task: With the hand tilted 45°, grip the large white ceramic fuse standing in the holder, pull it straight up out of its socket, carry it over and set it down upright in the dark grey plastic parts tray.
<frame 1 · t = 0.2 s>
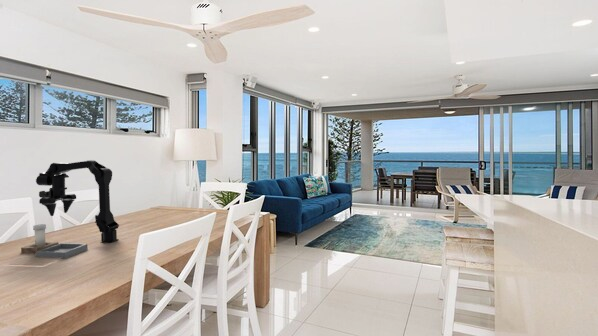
hand: (58, 214, 173), 14 cm above the table, fingers open, 9 cm apart
parts tray: (62, 253, 151), on the table
fuse: (40, 249, 155), point 1 cm above the table, touching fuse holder
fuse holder: (40, 251, 155), on the table
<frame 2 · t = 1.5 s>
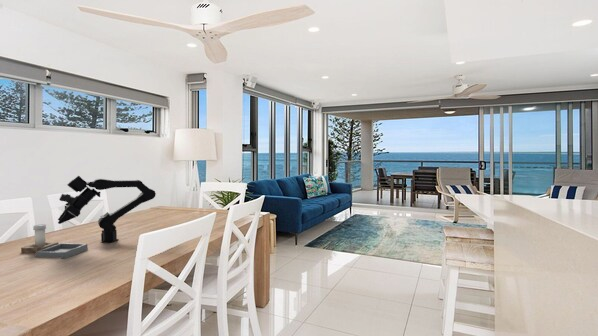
hand: (58, 221, 159), 13 cm above the table, fingers open, 9 cm apart
nothing on the table moved.
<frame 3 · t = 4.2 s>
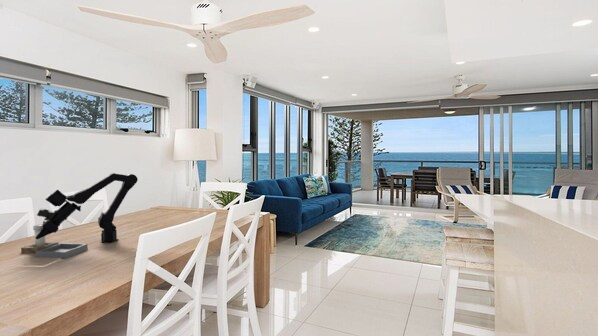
hand: (36, 237, 154), 7 cm above the table, fingers closed on fuse, 4 cm apart
fuse: (40, 249, 155), point 1 cm above the table, touching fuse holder, gripper
when the fingers open (8 cm above the table, at t = 8.8 s): fuse drops 1 cm, resting on parts tray.
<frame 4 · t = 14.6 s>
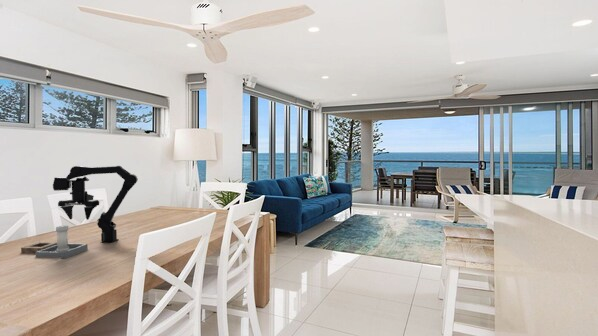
hand: (79, 219, 167), 13 cm above the table, fingers open, 9 cm apart
fuse: (62, 251, 151), point 1 cm above the table, touching parts tray
at the end: fuse inside the target area on the parts tray (0.1 cm from its centre), point 0.8 cm above the parts tray's base; fuse tilted 0°; the gripper is holding nothing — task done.
